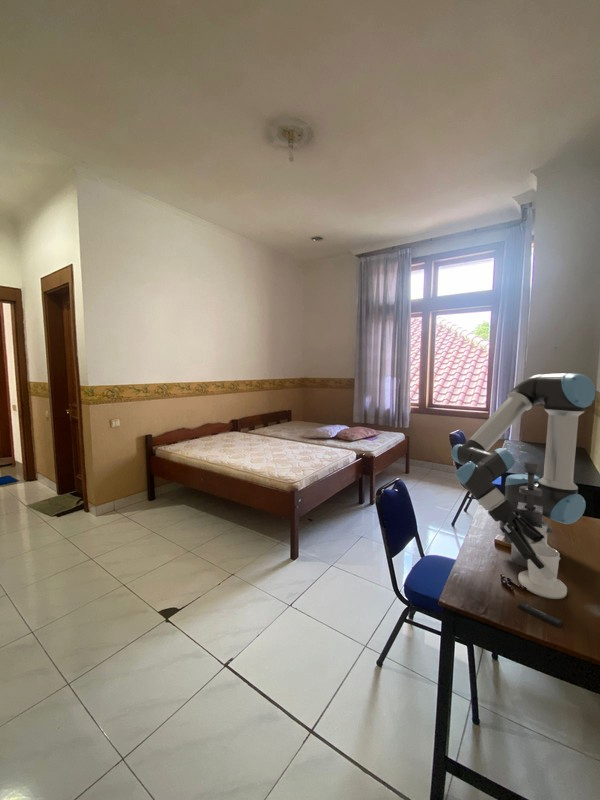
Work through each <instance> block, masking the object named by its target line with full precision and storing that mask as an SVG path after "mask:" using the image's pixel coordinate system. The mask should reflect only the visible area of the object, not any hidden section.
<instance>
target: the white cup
mask: <svg viewBox="0 0 600 800" xmlns="http://www.w3.org/2000/svg"><path fill="white" fill-rule="evenodd" d="M530 546H531V547H532V549H533V550H534V552H535V554H538V555H539V556H540V557H541V558H542V559H543V560H544V561H545V562H546V564H547V565H548V566H549V567H550V568H551V569H552V570H553V571H554V572H555V574H556V575H557V576H556V577H553V578H551V579H549V580H548V579H547V578H546V577H545V576H544V575H543V574H542V573H541V572H540V570H539V569H538V568H537V567H536V566H535V565H534V564H533V563H532V561H531V560H530V559H528V567H527V570H528V577H529V580H530V581H531V582H532V583H534V584H536V585H538V586H540V587H543V588H554V587H555V586H556V578H557V579H558V571H559V562H560V560H559V557H560V553H559V551H557V549H555V548H553V547H551V546H550V547H548V546H545V545H540V544H530Z"/></svg>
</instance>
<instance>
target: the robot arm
mask: <svg viewBox="0 0 600 800" xmlns="http://www.w3.org/2000/svg"><path fill="white" fill-rule="evenodd" d="M595 399H596V389H595V385H594V382H593V381H592V380H591V379H590V377H588V376H586V375H585V374H582V373H571V372H569V373H567V372H566V373H538V374H534V375H531V376H530V377H527V378H526V379H524V380H522V381H521V382H520V383H518V384H517V385H516V386H515V387H513V388H512V389H511V390H510V391H509V392H508V393H507V395H506V400H504V402H503V403H502V404H501V405H500V406H499V407H498V408H497V409H496V410H494V412H493V413H492V414H491V416H489V417H488V418H487V420H486V421H485V422H484V423H483V424H482V425H481V426H480V427H479V428H478V430H476V431H475V432H474V433H473V435H472V436H470V437H469V439H468V440H467V441H466V442H465V443H464V444H463V443H462V444H461V443H458V444H456V445H454V446H453V447H452V449H451V452H450V456H451V458H452V460H453V461H454V462H456V463H458V464H460V465H461V466H460V467H459V468H458V469H457V470H455V471H454V476H455V477H456V478H457V481H459V483H461V485H462V486H463V487H465V489H466V490H467V491H468V492H469V493H470V494H471V496H473V498H474V499H475V500H476V501H477V502H478V505H479V506H481V507H483V509H484V510H485V511H488V512H487V514H488V515H489V516H490V517H491V518H492V519H493V521H495V522H499V528H500V529H501V530H502V531H503V532H504V534H505V533H506V534H507V535H508V536H509V538H510V539H511V541H512V542H513V543H514V545H515V546H516V548H517V549H518V551H519V552H520V553H521V555H522V556H523V558H524V559H525V560H528V559H530V560H531V561H532V563H533V564H534V565H535V566H536V567H537V568H538V569H539V570H540V572H541V573H542V574H543V575H544V576H545V577H546V578H547V579H548V580H549V579H551V578H553V577H556V576H557V577H558V574H557V575H556V574H555V572H554V571H553V570H552V569H551V568H550V567H549V566H548V565H547V564H546V562H545V561H544V560H543V559H542V558H541V557H540V556H539V555H538V554H535V552H534V550H533V549H532V547H531V546H530V544H529V542H528V541H527V539H526V538H525V536H524V534H525V535H526V536H527V537H529V538H530V539H532V540H533V541H534V542H537V543H535V544H540V545H545V546H548V547H551V546H550V545H549V544H548V542H547V543H546V542H545V541H544V540H542V539H543V538H545V537H544V535H541V533H540V532H539V531H538V530H537V529H536V528H535V527H533V526H532V525H531V524H530V523H529V522H528V521H526V520H525V519H524V518H523V517H522V516H521V515H520V514H519V513H518V512H517V507H518V503H519V502H521V503H526V502H527V495H523V494H521V493H520V492H519V487H521V486H528V473H527V474H523V473H521V474H520V473H515V474H514V473H513V474H510V475H507V476H506V477H505V484H504V487H505V488H504V494H503V493H502V492H501V491H500V489H499V488H497V487H496V485H494V483H493V482H495V480H497V479H498V478H500V477H501V476H503V475H504V474H506V473H507V472H508V471H509V470H511V469H512V468H513V467H514V465H515V463H516V461H515V458H514V456H513V455H512V453H511V452H510V451H508V449H505V448H503V447H502V448H501V447H499V448H496V449H493V450H492V451H489V450H490V449H492V446H494V445H495V443H497V441H499V439H500V438H502V436H503V435H504V434H505V433H506V432H507V431H508V429H509V428H511V427H512V426H513V424H514V423H516V421H517V420H518V419H519V418H520V417H521V416H522V415H523V414H524V412H525V411H529V410H531V409H532V408H533V407H534V406H536V405H539V404H540V405H543V410H544V411H545V412H546V413H547V414H548V418H547V426H546V427H547V430H546V441H545V443H546V444H545V453H544V454H545V455H544V456H545V457H544V467H543V476H542V477H541V478H540V476H537V475H534V487H536V488H539V489H541V490H542V496H540V497H534V505H537V506H543V517H545V518H548V519H550V520H552V521H554V522H558V523H561V524H565V525H571V524H574V523H575V522H577V521H578V520H579V519H580V518H582V516H583V514H584V513H585V510H586V504H587V503H586V500H585V498H584V497H583V496H582V495H581V494H580V493H579V494H578V491H579V487H578V486H577V484H576V483H575V482H574V475H575V462H576V450H577V439H578V427H579V416H581V415H582V414H584V413H585V411H586V410H585V409H586V408H587V407H590V406H592V404H593V402H594V401H595ZM560 560H561V557H560V556H559V561H560Z"/></svg>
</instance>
